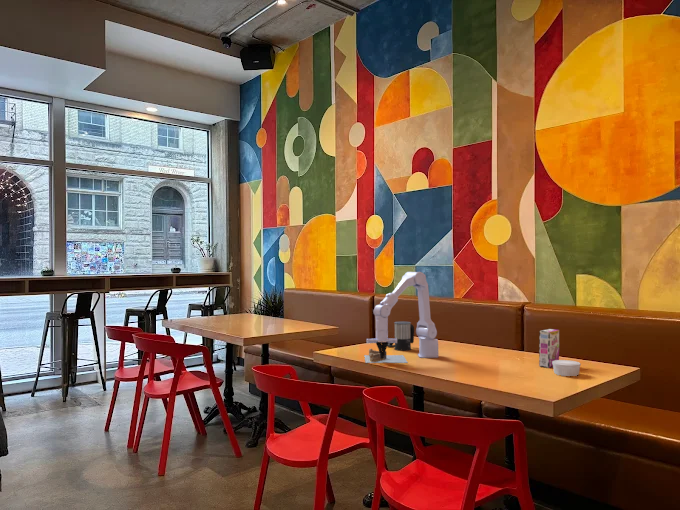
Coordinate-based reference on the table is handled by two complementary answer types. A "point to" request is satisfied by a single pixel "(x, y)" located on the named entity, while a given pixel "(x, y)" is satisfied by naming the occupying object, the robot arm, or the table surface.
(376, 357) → the fence swing
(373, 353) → the fence fixed
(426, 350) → the robot arm
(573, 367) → the ramekin
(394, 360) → the card
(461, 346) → the table surface
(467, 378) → the table surface
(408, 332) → the milk frother
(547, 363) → the candy bar box
